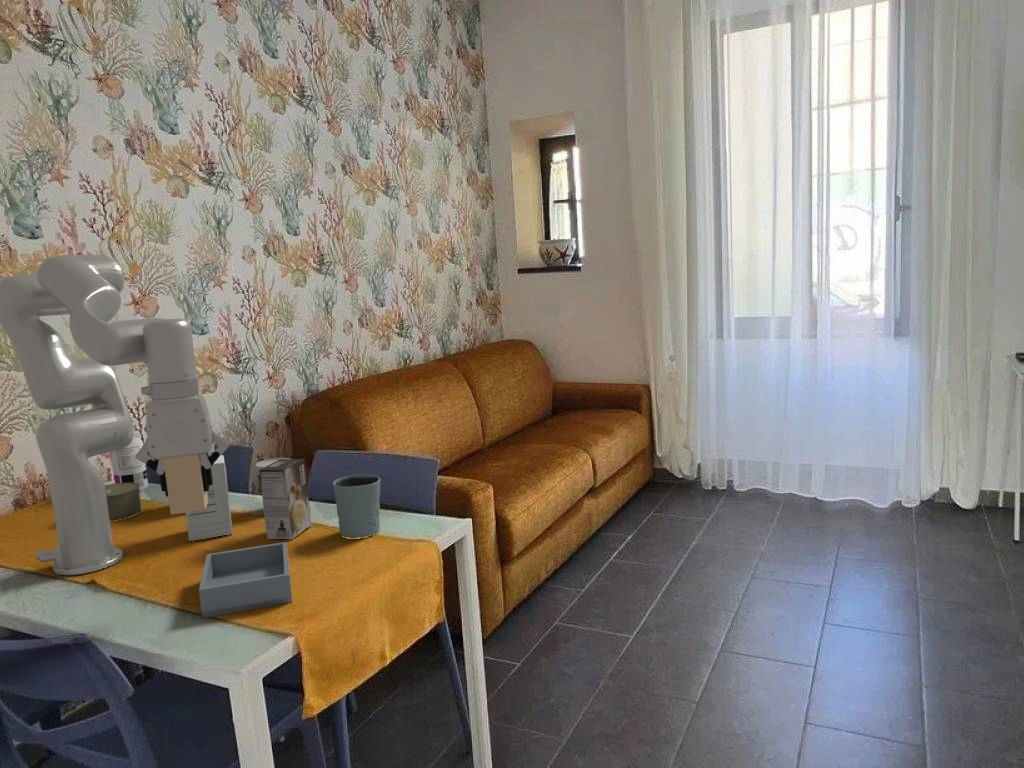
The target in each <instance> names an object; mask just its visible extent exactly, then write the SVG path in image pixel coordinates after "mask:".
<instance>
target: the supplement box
mask: <svg viewBox="0 0 1024 768" xmlns="http://www.w3.org/2000/svg"><path fill="white" fill-rule="evenodd" d="M211 471H212V479H213V485H210V488H209V491H207V495H208V504H207V506H206V509H205V510H202V511H194V512H187V513H185V519H186V526H187V535H188V541H190V540H197V539H203V538H210V537H216V536H222V535H228V534H232V535H233V525H232V524H233V523H232V515H231V513H232V512H231V505H230V504H231V503H230V502H231V501H230V495H229V493H230V492H229V485H228V484H229V483H228V478H227V477H228V476H227V468H226V463H225V456H224V455H223V454H221V455H220V457H219V458H218V459H217V460H216V461H215V462H214V464H213V465H212V466H211ZM228 536H229V535H228ZM222 537H223V536H222ZM216 538H217V537H216ZM210 539H211V538H210Z"/></svg>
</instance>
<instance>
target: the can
mask: <svg viewBox="0 0 1024 768" xmlns="http://www.w3.org/2000/svg"><path fill="white" fill-rule="evenodd" d="M104 485H105V491H106V498H107V505H108V513H109V520H110V521H114V520H119V519H124V518H128V517H130V516H133V515H135V514H137V513H139V512H141V510H142V504H141V495H140V492H139V484H137V483H117V484H115V483H111V484H107V485H106V484H104ZM141 513H142V512H141Z"/></svg>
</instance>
